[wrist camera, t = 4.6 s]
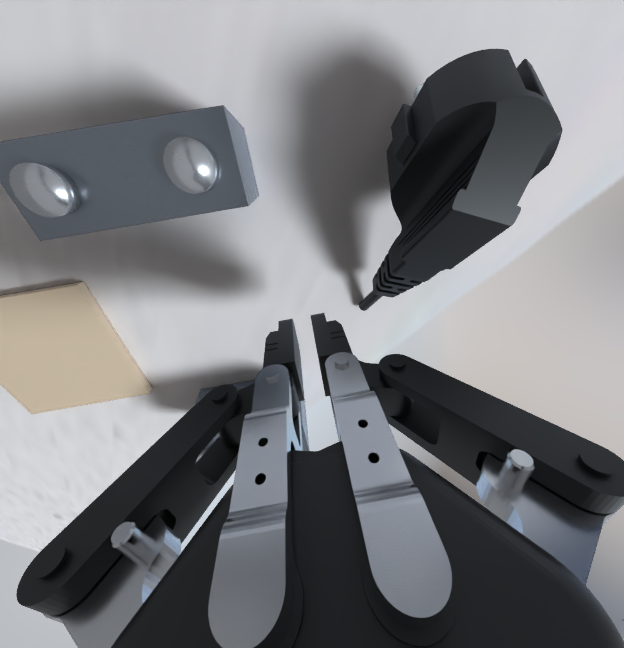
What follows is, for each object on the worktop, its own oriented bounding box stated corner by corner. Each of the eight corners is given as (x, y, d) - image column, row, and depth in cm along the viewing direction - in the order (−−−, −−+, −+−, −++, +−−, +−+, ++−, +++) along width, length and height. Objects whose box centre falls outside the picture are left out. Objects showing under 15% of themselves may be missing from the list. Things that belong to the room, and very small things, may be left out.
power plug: (324, 311, 17) (478, 116, 6) (327, 221, 20) (435, -19, 9) (399, 322, 18) (634, 178, 8) (392, 237, 21) (555, 43, 10)
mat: (-65, 306, 15) (-78, 311, 15) (83, 281, 16) (76, 285, 15) (38, 407, 20) (31, 414, 20) (152, 388, 20) (148, 393, 20)
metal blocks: (81, 154, 12) (-45, 144, 8) (243, 127, 13) (219, 100, 8) (213, 414, 22) (194, 480, 18) (304, 398, 22) (310, 460, 18)
